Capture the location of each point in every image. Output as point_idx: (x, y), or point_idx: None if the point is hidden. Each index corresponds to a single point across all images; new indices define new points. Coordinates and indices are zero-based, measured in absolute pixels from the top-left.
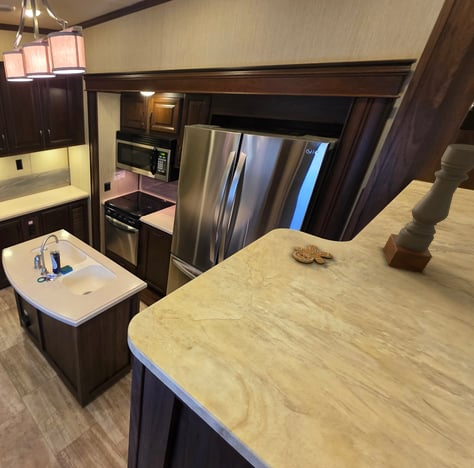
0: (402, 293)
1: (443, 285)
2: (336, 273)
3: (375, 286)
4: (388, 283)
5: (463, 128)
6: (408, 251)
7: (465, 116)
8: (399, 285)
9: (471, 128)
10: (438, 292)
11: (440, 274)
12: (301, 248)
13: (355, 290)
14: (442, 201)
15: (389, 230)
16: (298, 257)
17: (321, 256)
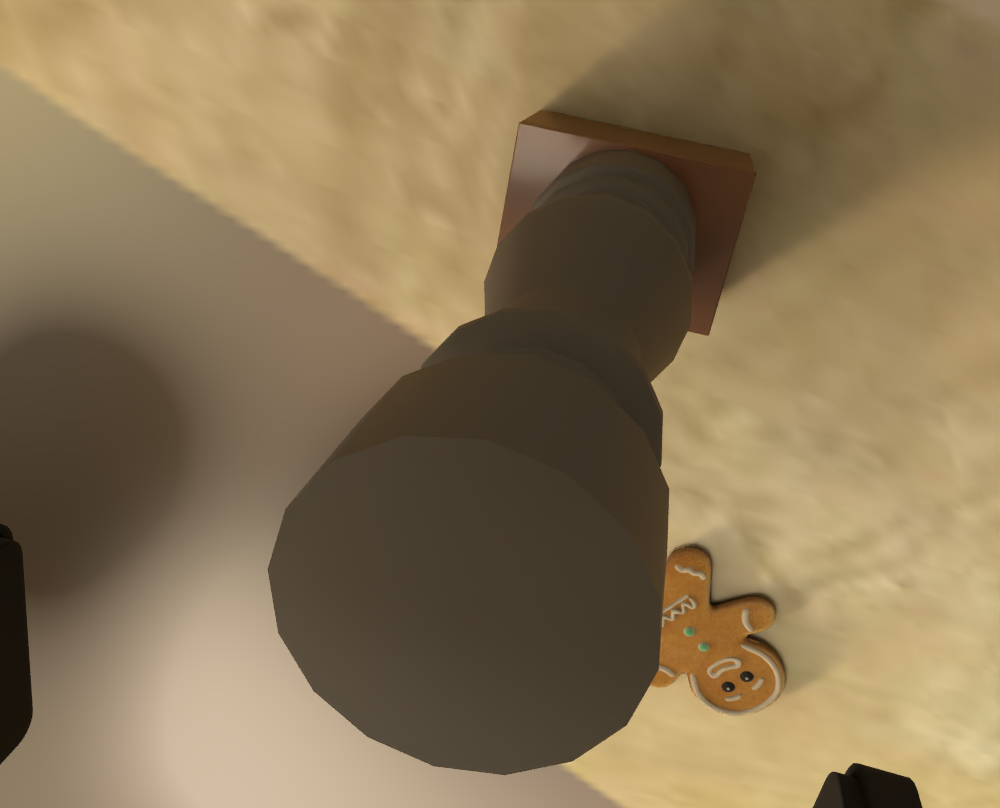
0: (982, 338)
1: (864, 94)
2: (846, 568)
3: (936, 437)
4: (896, 367)
5: (24, 716)
6: (715, 282)
7: None
8: (906, 322)
9: (15, 641)
10: (943, 154)
11: (743, 55)
12: (658, 670)
13: (988, 535)
14: (655, 351)
15: (248, 127)
16: (758, 707)
17: (708, 598)
